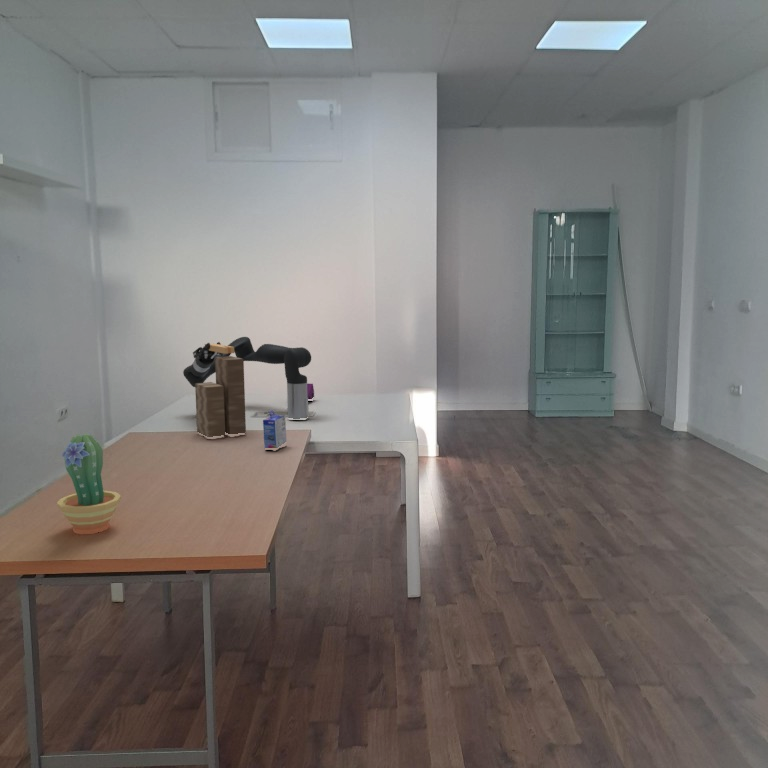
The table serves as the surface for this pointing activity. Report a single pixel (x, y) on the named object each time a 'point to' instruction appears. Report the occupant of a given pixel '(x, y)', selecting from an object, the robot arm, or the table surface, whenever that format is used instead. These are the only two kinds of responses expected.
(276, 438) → the ink cartridge box
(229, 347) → the slotted slat
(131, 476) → the table surface
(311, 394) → the mounting bracket
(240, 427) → the step stand
